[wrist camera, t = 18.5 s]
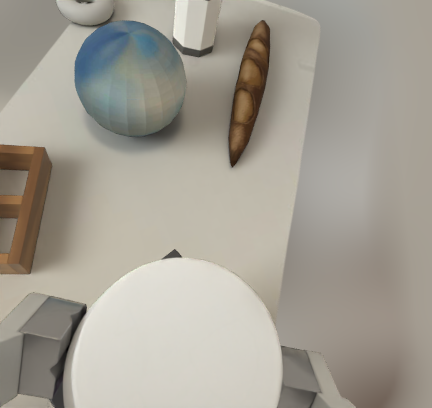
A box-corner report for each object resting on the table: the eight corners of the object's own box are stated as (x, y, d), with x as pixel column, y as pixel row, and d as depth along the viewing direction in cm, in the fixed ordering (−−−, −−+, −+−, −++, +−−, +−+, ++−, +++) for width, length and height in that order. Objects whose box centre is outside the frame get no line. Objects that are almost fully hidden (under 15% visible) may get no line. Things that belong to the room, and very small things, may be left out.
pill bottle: (160, 482, 13) (186, 667, 5) (69, 378, 14) (-49, 370, 6) (246, 366, 15) (366, 346, 7) (163, 284, 16) (180, 181, 8)
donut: (87, 37, 60) (126, 13, 64) (84, 19, 57) (125, -5, 61) (46, 10, 61) (86, -12, 66) (40, -9, 58) (83, -31, 63)
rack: (-50, 274, 39) (-69, 263, 35) (-15, 161, 46) (-28, 142, 42) (30, 274, 40) (19, 263, 37) (52, 164, 47) (44, 147, 44)
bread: (250, 20, 70) (257, -3, 66) (273, 27, 71) (281, 4, 66) (215, 165, 52) (221, 146, 48) (246, 174, 52) (255, 155, 48)
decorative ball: (167, 79, 59) (172, -8, 45) (193, 147, 53) (208, 71, 40) (76, 89, 54) (53, -4, 41) (94, 166, 48) (74, 86, 35)
